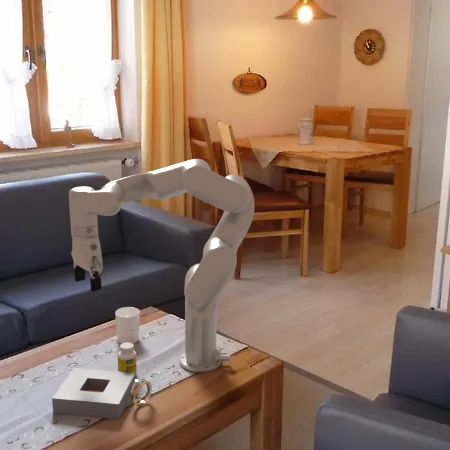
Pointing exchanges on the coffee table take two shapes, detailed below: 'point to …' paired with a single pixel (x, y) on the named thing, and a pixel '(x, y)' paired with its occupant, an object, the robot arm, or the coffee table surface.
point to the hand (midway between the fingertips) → (88, 285)
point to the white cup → (127, 324)
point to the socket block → (94, 393)
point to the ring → (133, 393)
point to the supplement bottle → (127, 358)
